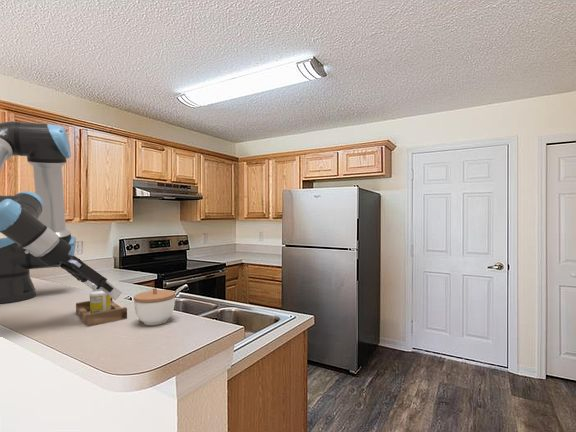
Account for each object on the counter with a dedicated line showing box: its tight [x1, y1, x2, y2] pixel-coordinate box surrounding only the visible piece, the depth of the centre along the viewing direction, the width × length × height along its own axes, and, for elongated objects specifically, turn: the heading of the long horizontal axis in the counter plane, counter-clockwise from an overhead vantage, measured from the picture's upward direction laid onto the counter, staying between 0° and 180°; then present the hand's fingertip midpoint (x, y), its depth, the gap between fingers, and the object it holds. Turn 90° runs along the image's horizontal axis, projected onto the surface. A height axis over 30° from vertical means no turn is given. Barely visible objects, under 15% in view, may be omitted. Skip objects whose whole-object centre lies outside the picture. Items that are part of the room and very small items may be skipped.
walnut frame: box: [75, 297, 128, 327], centre depth 101 cm, size 18×10×3 cm, turn 41°
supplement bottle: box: [89, 284, 111, 314], centre depth 101 cm, size 5×5×10 cm
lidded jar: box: [133, 287, 176, 326], centre depth 93 cm, size 11×11×9 cm
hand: (111, 294), depth 103 cm, fingers open, 9 cm apart
